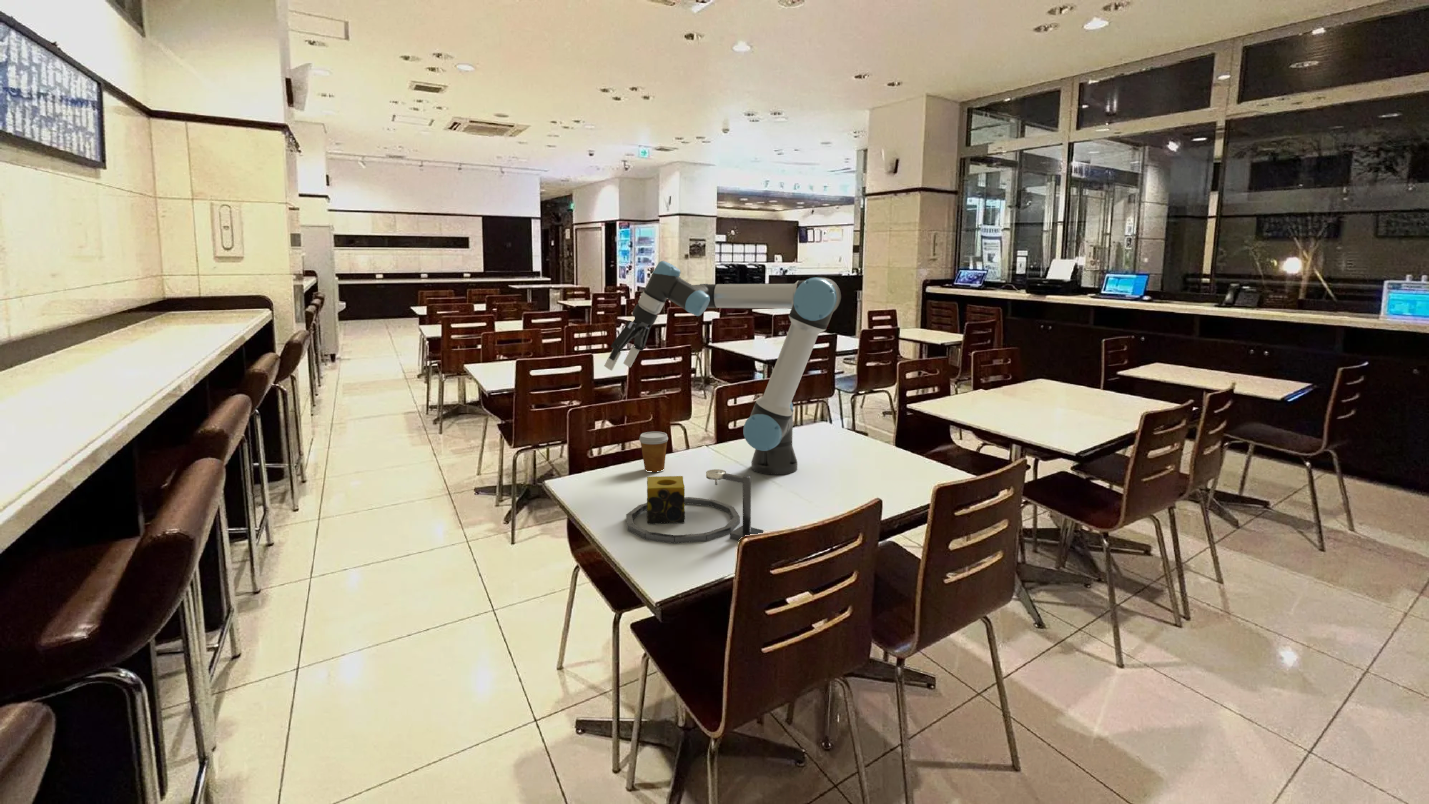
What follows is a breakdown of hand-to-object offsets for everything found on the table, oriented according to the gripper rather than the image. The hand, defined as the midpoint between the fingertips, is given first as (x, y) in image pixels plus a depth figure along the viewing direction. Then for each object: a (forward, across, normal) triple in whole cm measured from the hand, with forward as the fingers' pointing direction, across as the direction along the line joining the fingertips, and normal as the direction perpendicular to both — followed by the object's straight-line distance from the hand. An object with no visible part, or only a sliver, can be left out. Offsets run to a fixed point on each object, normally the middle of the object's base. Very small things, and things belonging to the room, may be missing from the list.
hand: (617, 366), depth 220 cm
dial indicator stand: (+7, +40, +63) cm, 75 cm away
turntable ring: (+14, +36, +49) cm, 63 cm away
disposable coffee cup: (+24, -5, +26) cm, 36 cm away
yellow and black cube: (+17, +34, +45) cm, 59 cm away
